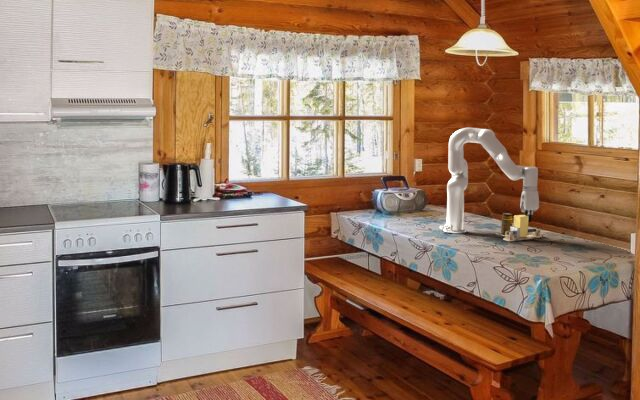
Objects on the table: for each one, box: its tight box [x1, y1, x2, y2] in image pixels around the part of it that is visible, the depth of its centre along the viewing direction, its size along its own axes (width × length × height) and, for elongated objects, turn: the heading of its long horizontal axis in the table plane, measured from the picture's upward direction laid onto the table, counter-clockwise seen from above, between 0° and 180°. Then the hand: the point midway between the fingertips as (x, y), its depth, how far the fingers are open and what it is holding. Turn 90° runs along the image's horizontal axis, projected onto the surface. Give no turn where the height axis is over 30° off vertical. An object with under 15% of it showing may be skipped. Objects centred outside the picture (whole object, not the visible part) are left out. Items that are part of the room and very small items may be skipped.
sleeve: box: [512, 214, 529, 237], centre depth 384 cm, size 6×5×11 cm
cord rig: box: [502, 227, 543, 242], centre depth 385 cm, size 24×5×5 cm, turn 118°
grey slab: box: [510, 225, 520, 239], centre depth 382 cm, size 2×5×6 cm, turn 28°
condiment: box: [494, 212, 513, 237], centre depth 396 cm, size 7×8×12 cm
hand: (528, 221), depth 386 cm, fingers closed
